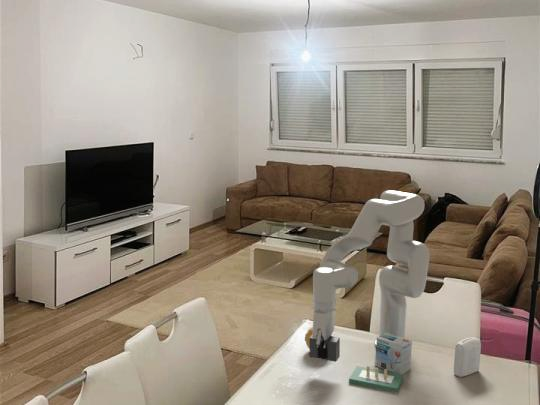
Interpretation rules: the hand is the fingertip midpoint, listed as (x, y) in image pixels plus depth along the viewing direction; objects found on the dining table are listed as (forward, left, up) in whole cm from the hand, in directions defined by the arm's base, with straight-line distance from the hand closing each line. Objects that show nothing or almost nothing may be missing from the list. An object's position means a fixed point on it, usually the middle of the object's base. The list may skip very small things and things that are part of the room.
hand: (324, 354), depth 194 cm
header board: (-2, +18, -7) cm, 19 cm away
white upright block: (-21, +45, -7) cm, 50 cm away
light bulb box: (-14, +21, -7) cm, 26 cm away
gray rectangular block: (0, 0, -1) cm, 1 cm away
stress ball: (-15, -7, -7) cm, 18 cm away
